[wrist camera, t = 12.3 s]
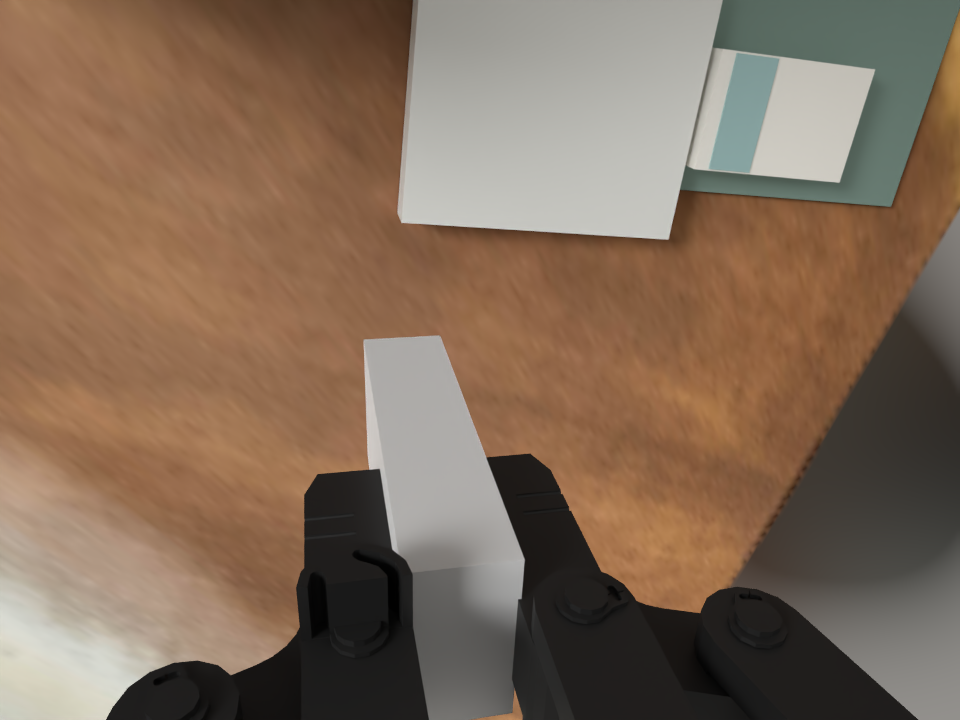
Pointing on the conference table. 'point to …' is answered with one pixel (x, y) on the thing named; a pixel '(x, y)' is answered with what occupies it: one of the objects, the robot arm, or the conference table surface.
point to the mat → (852, 42)
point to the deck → (552, 113)
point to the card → (777, 116)
